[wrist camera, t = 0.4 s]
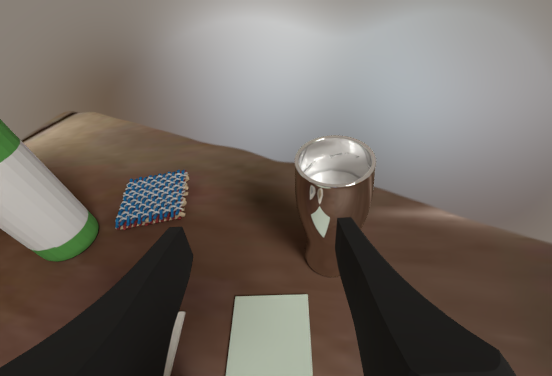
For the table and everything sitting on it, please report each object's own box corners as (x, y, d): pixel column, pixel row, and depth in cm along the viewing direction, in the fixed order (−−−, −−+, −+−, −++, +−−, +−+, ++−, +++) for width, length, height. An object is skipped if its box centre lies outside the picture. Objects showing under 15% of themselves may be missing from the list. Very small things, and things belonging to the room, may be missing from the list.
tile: (166, 391, 25) (165, 390, 25) (96, 390, 26) (94, 390, 25) (185, 312, 30) (184, 311, 30) (126, 314, 31) (124, 312, 30)
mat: (313, 384, 24) (313, 384, 24) (225, 384, 25) (224, 384, 25) (307, 295, 30) (307, 294, 29) (236, 297, 30) (235, 296, 30)
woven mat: (192, 174, 47) (188, 165, 46) (186, 221, 40) (181, 213, 38) (132, 185, 47) (126, 176, 46) (116, 235, 40) (108, 227, 38)
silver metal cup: (292, 268, 32) (278, 176, 22) (313, 223, 36) (310, 128, 26) (350, 290, 29) (367, 198, 19) (366, 240, 34) (387, 141, 23)
